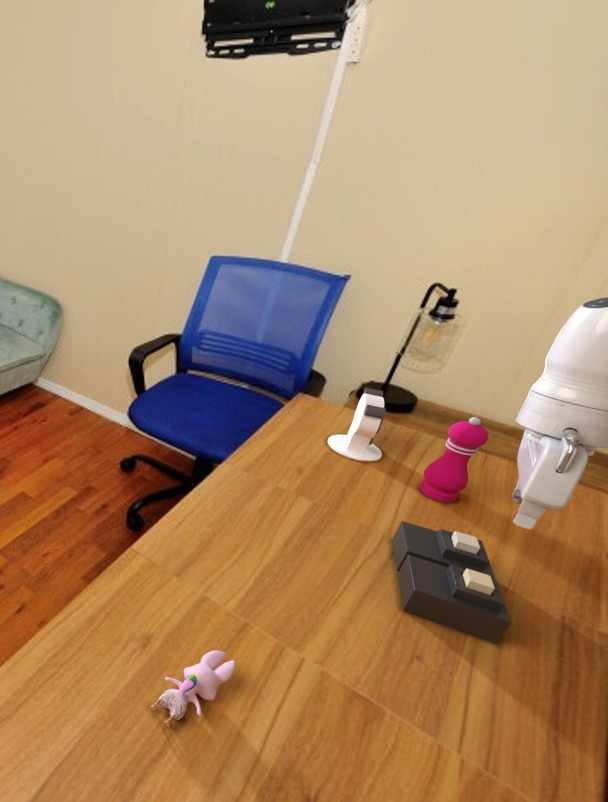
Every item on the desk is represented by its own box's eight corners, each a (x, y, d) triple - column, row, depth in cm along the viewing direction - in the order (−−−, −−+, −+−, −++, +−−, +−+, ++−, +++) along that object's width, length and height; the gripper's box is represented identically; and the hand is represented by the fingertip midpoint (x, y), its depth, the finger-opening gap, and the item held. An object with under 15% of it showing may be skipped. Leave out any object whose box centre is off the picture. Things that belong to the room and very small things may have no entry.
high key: (485, 583, 84) (490, 575, 83) (490, 596, 82) (495, 588, 81) (461, 575, 85) (466, 568, 84) (465, 588, 83) (470, 580, 82)
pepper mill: (419, 478, 118) (455, 405, 108) (460, 493, 113) (502, 417, 104) (414, 493, 113) (451, 417, 104) (456, 508, 109) (499, 431, 99)
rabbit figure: (176, 743, 70) (247, 680, 76) (179, 723, 67) (252, 658, 72) (142, 703, 75) (211, 646, 80) (143, 683, 72) (215, 625, 77)
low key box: (470, 564, 95) (487, 537, 92) (481, 599, 89) (500, 571, 85) (391, 540, 101) (405, 513, 98) (396, 570, 94) (411, 543, 91)
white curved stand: (383, 468, 121) (407, 415, 114) (327, 453, 127) (346, 402, 120) (380, 443, 130) (402, 393, 123) (328, 431, 136) (346, 382, 129)
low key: (472, 544, 91) (476, 537, 90) (475, 555, 89) (480, 548, 88) (450, 537, 93) (454, 530, 92) (453, 548, 90) (458, 541, 90)
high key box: (483, 603, 88) (502, 575, 85) (496, 644, 81) (517, 615, 78) (397, 574, 94) (411, 547, 90) (402, 610, 87) (418, 582, 84)
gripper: (620, 450, 56) (560, 554, 60) (595, 414, 70) (548, 501, 74) (538, 429, 60) (487, 528, 64) (530, 399, 74) (489, 482, 78)
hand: (520, 513), depth 69 cm, fingers open, 8 cm apart
